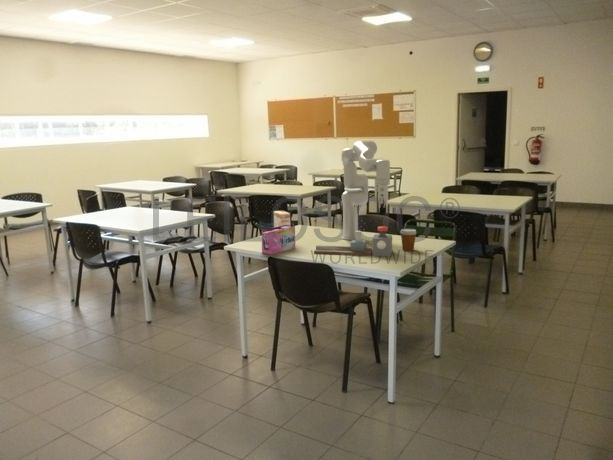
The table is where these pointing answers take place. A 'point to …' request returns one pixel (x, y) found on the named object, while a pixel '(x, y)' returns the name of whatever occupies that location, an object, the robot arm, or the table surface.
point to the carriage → (358, 242)
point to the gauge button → (382, 231)
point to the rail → (341, 250)
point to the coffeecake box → (281, 218)
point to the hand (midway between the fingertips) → (382, 213)
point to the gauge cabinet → (382, 245)
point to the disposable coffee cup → (408, 239)
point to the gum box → (278, 239)
